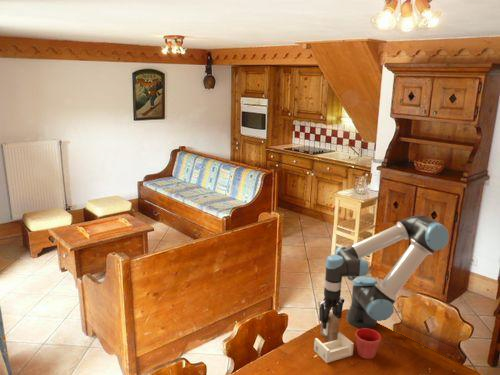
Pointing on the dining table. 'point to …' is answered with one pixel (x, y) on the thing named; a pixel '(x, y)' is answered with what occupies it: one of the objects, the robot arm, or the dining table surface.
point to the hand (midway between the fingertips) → (329, 333)
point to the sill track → (334, 348)
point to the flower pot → (367, 342)
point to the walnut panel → (331, 328)
